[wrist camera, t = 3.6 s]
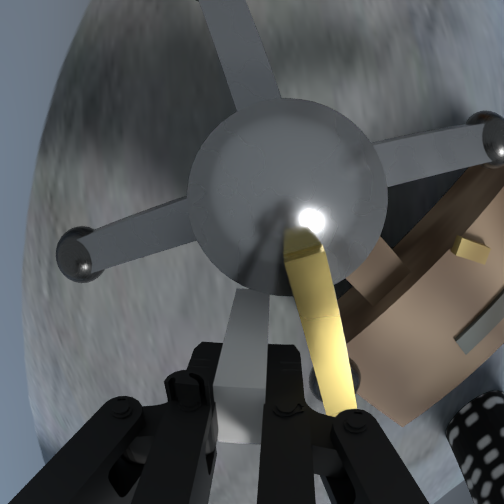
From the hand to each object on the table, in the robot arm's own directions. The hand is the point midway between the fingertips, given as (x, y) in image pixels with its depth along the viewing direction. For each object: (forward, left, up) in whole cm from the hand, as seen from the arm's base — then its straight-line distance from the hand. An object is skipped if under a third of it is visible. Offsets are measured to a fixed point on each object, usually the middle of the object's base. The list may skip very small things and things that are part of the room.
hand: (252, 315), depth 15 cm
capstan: (+5, +3, -7) cm, 9 cm away
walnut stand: (+8, -8, -7) cm, 13 cm away
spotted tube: (+3, -31, -7) cm, 32 cm away
